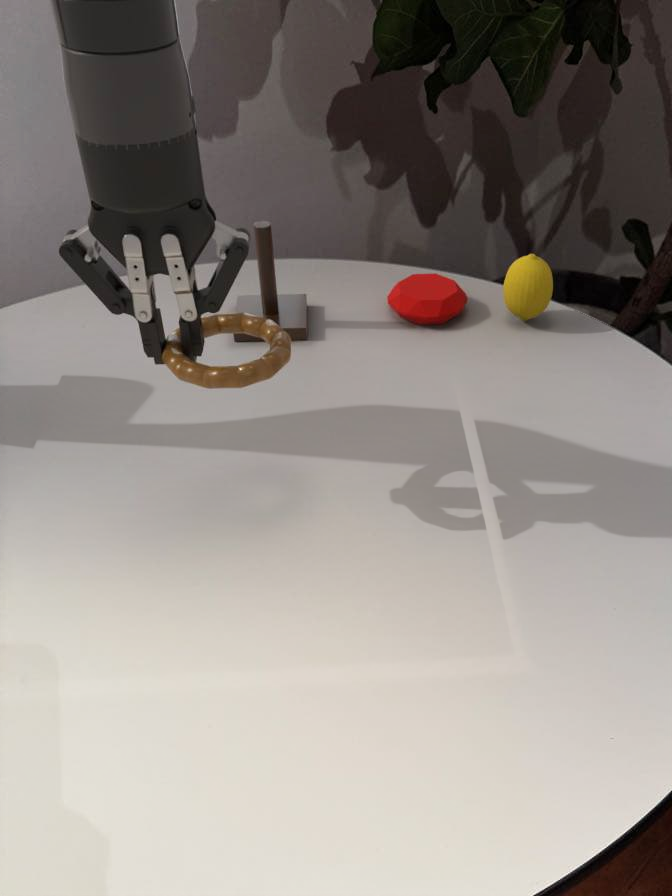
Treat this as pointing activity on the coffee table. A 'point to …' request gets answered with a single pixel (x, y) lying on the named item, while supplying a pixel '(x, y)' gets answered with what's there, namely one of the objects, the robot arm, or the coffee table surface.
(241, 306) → the peg stand
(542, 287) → the lemon
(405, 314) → the gemstone
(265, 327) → the ring
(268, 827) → the coffee table surface
